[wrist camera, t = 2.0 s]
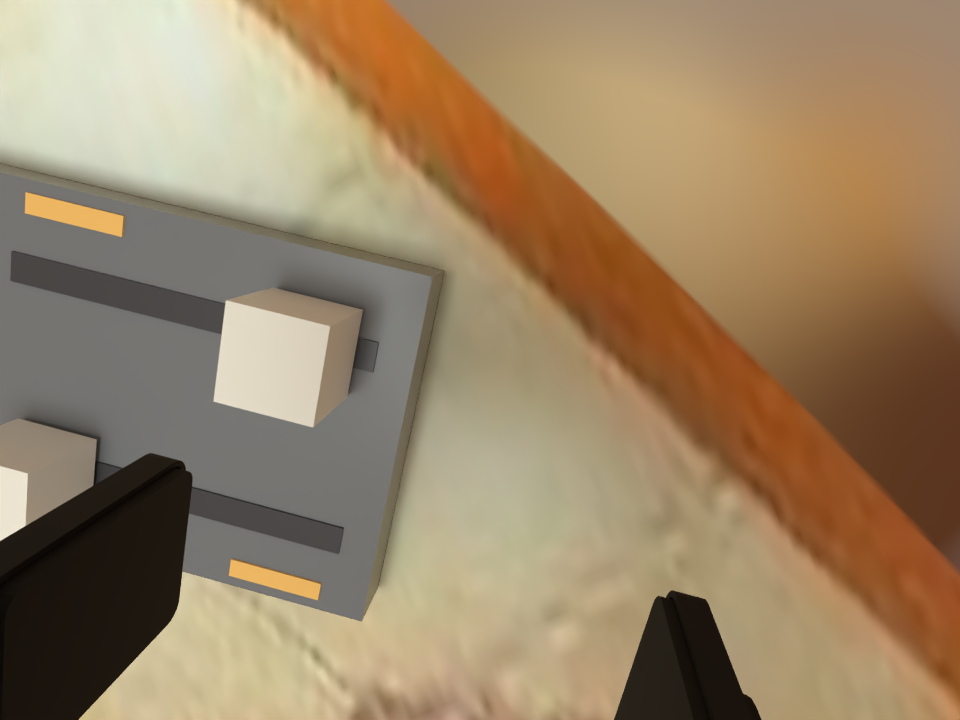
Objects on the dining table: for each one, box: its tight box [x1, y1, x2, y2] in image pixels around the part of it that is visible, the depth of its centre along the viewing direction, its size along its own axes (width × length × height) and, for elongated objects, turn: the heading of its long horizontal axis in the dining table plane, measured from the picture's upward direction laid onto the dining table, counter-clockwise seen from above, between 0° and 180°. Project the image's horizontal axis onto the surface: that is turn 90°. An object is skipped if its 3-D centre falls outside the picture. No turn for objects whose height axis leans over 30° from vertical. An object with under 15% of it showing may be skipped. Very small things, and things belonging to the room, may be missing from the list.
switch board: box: [0, 164, 444, 621], centre depth 27 cm, size 22×15×3 cm
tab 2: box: [213, 288, 363, 427], centre depth 22 cm, size 4×4×4 cm
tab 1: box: [0, 418, 97, 541], centre depth 25 cm, size 4×4×4 cm
